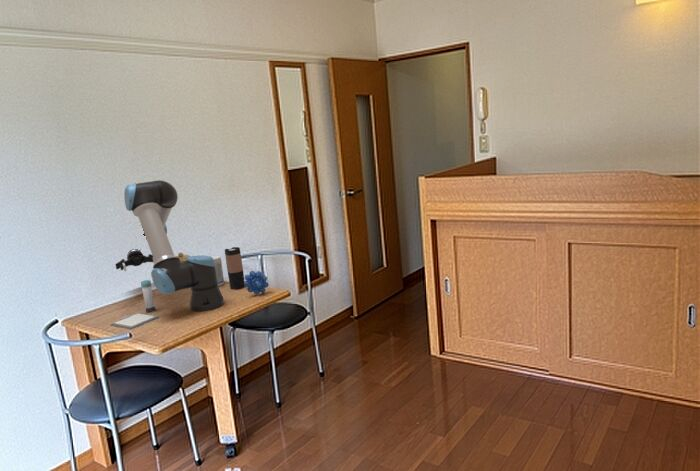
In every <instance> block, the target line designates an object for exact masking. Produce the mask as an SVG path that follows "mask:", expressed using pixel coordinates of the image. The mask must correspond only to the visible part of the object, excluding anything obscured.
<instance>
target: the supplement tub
mask: <svg viewBox="0 0 700 471" xmlns="http://www.w3.org/2000/svg"><path fill="white" fill-rule="evenodd" d="M209 256H210V257H212V258H213V260H214V264H215V270H216V277H217V284H218V287H221V286H223V285H224V284H225V279H224V271H223V270H224V269H223V265H222V264H223V262H222V258H221V256H220V255H209Z"/></svg>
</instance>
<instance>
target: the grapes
mask: <svg viewBox="0 0 700 471" xmlns="http://www.w3.org/2000/svg"><path fill="white" fill-rule="evenodd" d="M244 285H245V287H246V288H247V291H248V293H253V294H254V295H256V296H258V295H260V293H261V294H264V293H266V291H267V290H266V289H267V288H268V287H269V283H268V278H267V276H266V275H263V273H262V271H259V270H257V271H254V270H251V271H249V274H246V275H244Z"/></svg>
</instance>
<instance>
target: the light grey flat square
mask: <svg viewBox="0 0 700 471" xmlns="http://www.w3.org/2000/svg"><path fill="white" fill-rule="evenodd" d="M159 318H160V316H159V315H154V314H147V313H141V312H137V313H135V314H128V315H126V316H123V317H121V318H119V320H117V321H115V322H112V323H110V326H112V327H117V328H123V329H128V330H133V329H135V328H137V327H140V326H143V325H144V324H147V323H149V322H152V321H154V320H157V319H159Z"/></svg>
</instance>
